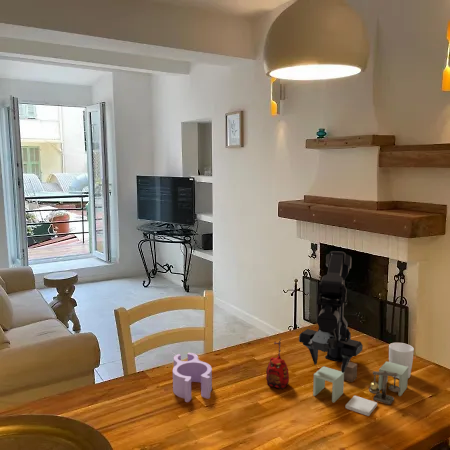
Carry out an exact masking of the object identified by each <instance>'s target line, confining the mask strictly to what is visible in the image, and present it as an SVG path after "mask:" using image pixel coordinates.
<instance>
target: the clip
mask: <svg viewBox="0 0 450 450" xmlns="http://www.w3.org/2000/svg"><path fill="white" fill-rule="evenodd" d="M212 370H213V368H212V366H211V365H210V364H209V363H208V362H205V361H202V360H200V359H199V356H198V355H197V354H196V353H193V352H187V360H182V355H181V354H180V353H177V354H176V355H174V356H173V368H172V392H173V395H176V396H177V397H178V398H180V399H184V402H186V403H189V402H190V401H191V400H192V383H194V382H195V383H200V389H201V390H200V396H201V397H202V398H204V399H207V400H208V399H210V398H211V392H212V390H213V375H212V374H213V373H212V372H213V371H212Z"/></svg>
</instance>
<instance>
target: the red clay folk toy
mask: <svg viewBox="0 0 450 450" xmlns="http://www.w3.org/2000/svg"><path fill="white" fill-rule="evenodd" d="M281 341H282V338H281V337H279V340H278V342H277V341H276V340H275V341H274V342H273V344H274V345H278V353H277V357H273V356H272V357H270V359H269V363H268V365H267V366H266V371H265V373H266V375H265V376H266V377H265V379H266V383H267V385H268V386H269V387H272V388H276V389H279V390H280V389H281V390H283V389H286V387H287V386H288V384H289V383H290V378H289V377H290V376H289V375H290V374H289V373H290V372H289V368H288V366H287V363H286V362H285V360H284V359H282V357H281V352H282V350H281V343H282V342H281Z"/></svg>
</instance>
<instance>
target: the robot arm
mask: <svg viewBox="0 0 450 450" xmlns="http://www.w3.org/2000/svg"><path fill="white" fill-rule="evenodd" d="M325 266H326V267H327V274H324V275H323V276H322V278H321V280H320V282H318V288H317V299H316V305H321V309H320V311H319V314H318V316H317V320H316V323H317V325H318V329H317V330H314V329H309V328H306V329H305V330H303V331H302V332H301V333H299V335H298V342H299V343H301V344H302V345H303V346H305V347H306V348H307V349H308V350H309V353H310V356H311V359H312V362H313V364H314V365H315V366H316V365H317V364H318V361H319V351H320V352H323V353H326V354H325V357H324V358H325V359H329V360H332V361H334V362H335V361H336V362H340V363H342V364H341V365H342V373H344V372H345V369H346V367H347V365H348V363H349V362H351V359H352V358H353V357H357V356H358V355H359V354H360V353H361V352H363V347H364V345H363V343H362V342H361V341H359V340H354V339H352V334H351V332H350V328H348V321H347V319H346V318H345V317H344V307H345V305H344V304H346V302H347V301H346V300H347V293H348V292H347V288H346V285H345V280H346V278H347V277H348V275H349V273H350V272H349V271H350V269H352V256H351V255H350V254H346V252H344V251H339V250H338V251H336V250H331V251H330V252H329V253H327V254H326V256H325Z"/></svg>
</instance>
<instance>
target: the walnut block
mask: <svg viewBox="0 0 450 450" xmlns="http://www.w3.org/2000/svg"><path fill="white" fill-rule="evenodd" d="M340 371H341V372H342V364H341V365H340ZM357 375H358V363H354V362H351V361H349V363H348V365H347V367H346V369H345V372H344V381H346V382H349V383H353V382H354V381H355V380H356V379H357V377H358V376H357Z"/></svg>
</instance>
